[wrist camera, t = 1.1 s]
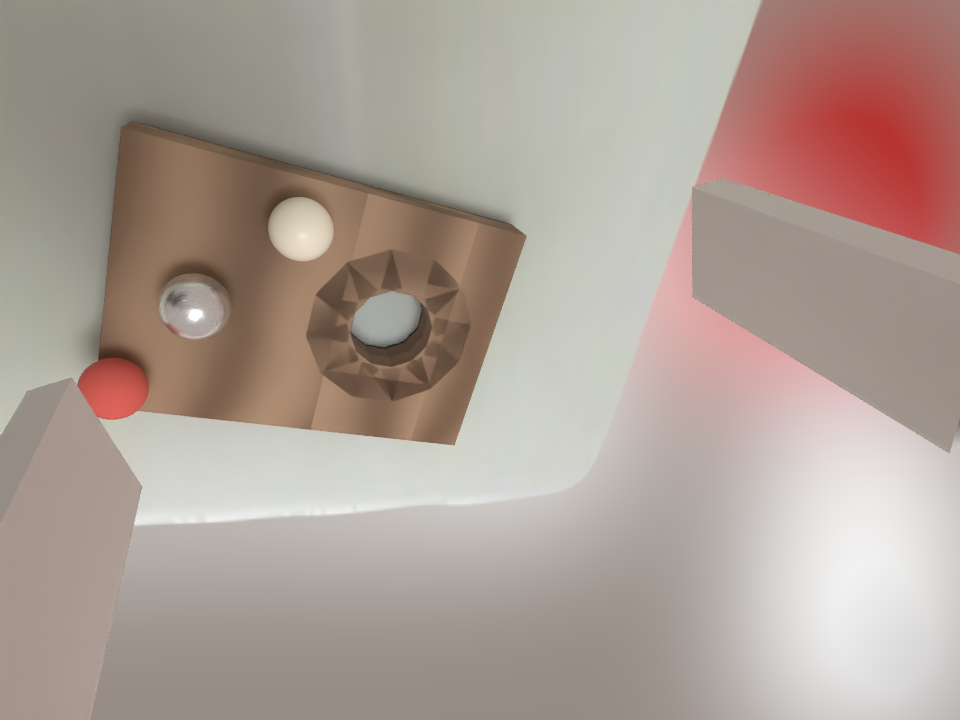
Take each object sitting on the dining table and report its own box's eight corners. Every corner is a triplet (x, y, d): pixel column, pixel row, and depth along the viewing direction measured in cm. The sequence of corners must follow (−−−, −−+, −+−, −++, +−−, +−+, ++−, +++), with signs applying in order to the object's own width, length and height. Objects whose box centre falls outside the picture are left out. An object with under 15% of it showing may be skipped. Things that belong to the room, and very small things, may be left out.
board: (104, 383, 34) (94, 406, 32) (131, 121, 29) (121, 127, 27) (444, 424, 42) (454, 445, 39) (511, 224, 37) (526, 235, 35)
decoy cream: (262, 243, 31) (262, 261, 28) (274, 183, 30) (274, 197, 27) (323, 256, 32) (328, 275, 29) (336, 199, 31) (343, 214, 28)
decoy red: (83, 396, 31) (66, 427, 29) (88, 343, 30) (71, 370, 28) (149, 403, 32) (139, 434, 30) (156, 352, 31) (146, 380, 29)
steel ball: (158, 318, 31) (148, 345, 28) (166, 257, 30) (157, 279, 27) (227, 329, 32) (224, 356, 29) (237, 271, 31) (235, 294, 28)
